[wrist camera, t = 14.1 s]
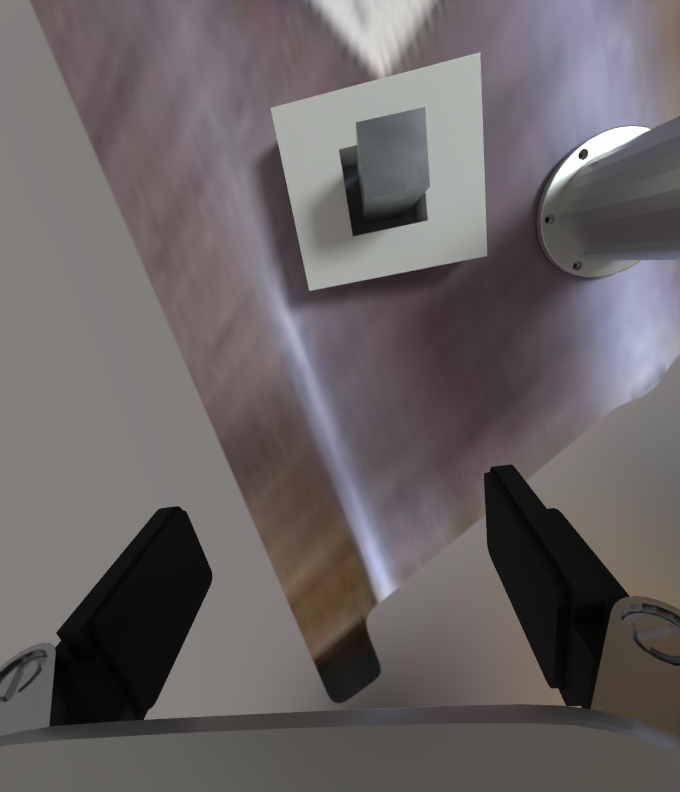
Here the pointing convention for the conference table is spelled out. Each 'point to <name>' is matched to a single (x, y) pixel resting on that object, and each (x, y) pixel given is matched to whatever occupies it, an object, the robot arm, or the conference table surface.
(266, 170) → the conference table surface
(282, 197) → the conference table surface
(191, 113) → the conference table surface
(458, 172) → the well block
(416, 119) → the bracket bar
